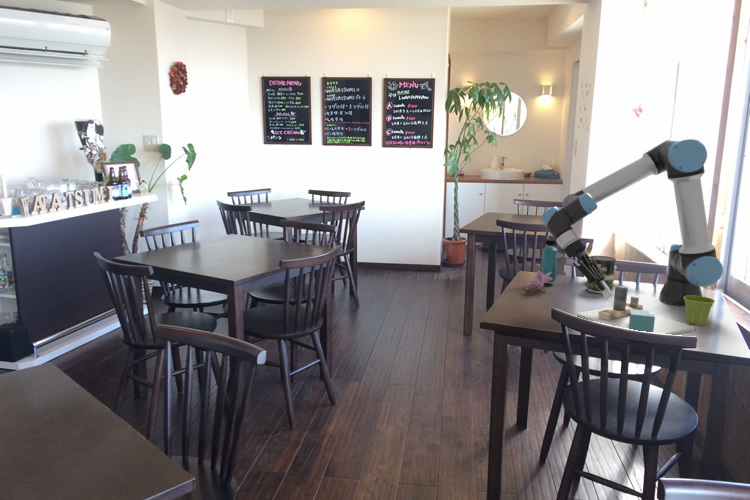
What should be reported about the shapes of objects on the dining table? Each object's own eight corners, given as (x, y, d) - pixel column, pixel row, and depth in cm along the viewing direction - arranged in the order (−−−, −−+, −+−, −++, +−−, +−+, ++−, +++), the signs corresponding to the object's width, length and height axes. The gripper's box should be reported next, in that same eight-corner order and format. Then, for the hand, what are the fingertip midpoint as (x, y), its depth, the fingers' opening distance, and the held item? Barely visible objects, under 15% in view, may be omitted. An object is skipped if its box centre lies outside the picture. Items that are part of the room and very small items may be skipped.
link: (630, 307, 205) (633, 281, 203) (645, 311, 200) (648, 284, 198) (595, 316, 194) (598, 288, 192) (610, 320, 189) (613, 292, 187)
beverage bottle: (557, 285, 240) (561, 240, 236) (542, 285, 239) (545, 240, 236) (552, 282, 246) (556, 238, 242) (537, 282, 246) (541, 238, 242)
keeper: (626, 320, 190) (628, 305, 189) (648, 323, 188) (650, 307, 187) (629, 330, 180) (631, 314, 179) (653, 333, 178) (655, 316, 177)
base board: (624, 307, 209) (625, 304, 209) (694, 330, 184) (694, 327, 184) (576, 315, 198) (576, 313, 198) (643, 341, 174) (643, 338, 174)
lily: (556, 293, 232) (549, 271, 235) (561, 289, 221) (553, 266, 224) (528, 300, 234) (521, 279, 236) (531, 297, 222) (524, 274, 225)
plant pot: (691, 327, 187) (694, 302, 186) (674, 318, 197) (677, 295, 195) (717, 327, 188) (721, 302, 186) (700, 318, 197) (703, 295, 196)
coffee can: (607, 295, 226) (611, 261, 223) (582, 290, 233) (585, 257, 230) (616, 290, 234) (619, 257, 231) (591, 285, 240) (594, 254, 238)
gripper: (571, 248, 212) (609, 299, 204) (555, 251, 203) (594, 305, 195) (586, 236, 207) (625, 289, 199) (571, 239, 198) (611, 294, 190)
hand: (610, 297), depth 197 cm, fingers closed
